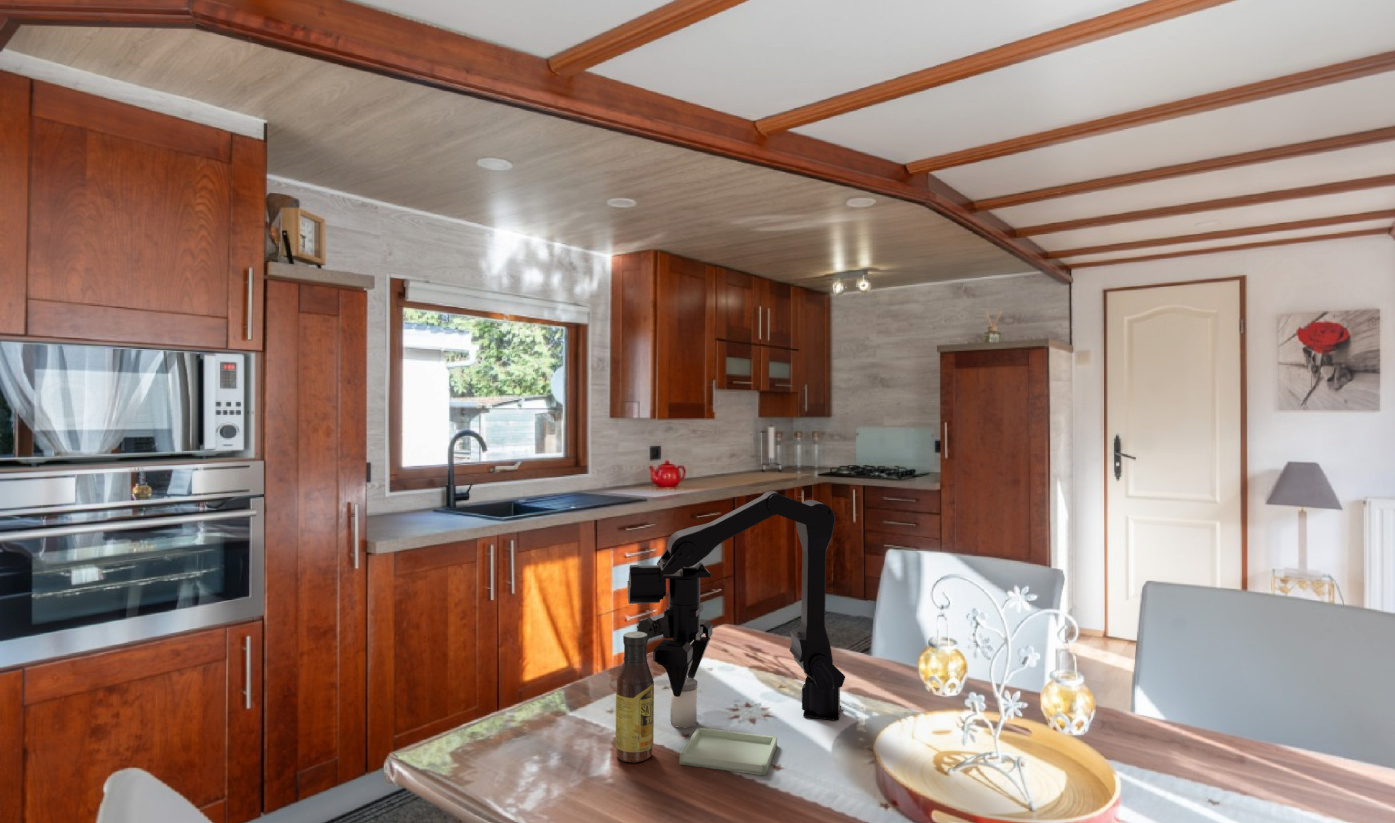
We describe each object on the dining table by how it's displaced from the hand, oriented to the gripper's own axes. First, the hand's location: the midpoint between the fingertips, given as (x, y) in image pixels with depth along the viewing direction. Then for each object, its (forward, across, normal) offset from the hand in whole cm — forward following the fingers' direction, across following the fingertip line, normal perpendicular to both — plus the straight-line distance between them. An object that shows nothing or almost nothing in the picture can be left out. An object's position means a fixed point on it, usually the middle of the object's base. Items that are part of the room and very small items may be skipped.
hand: (684, 686), depth 138 cm
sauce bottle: (+7, +15, -4) cm, 17 cm away
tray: (+6, +11, +11) cm, 16 cm away
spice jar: (+6, 0, 0) cm, 6 cm away
